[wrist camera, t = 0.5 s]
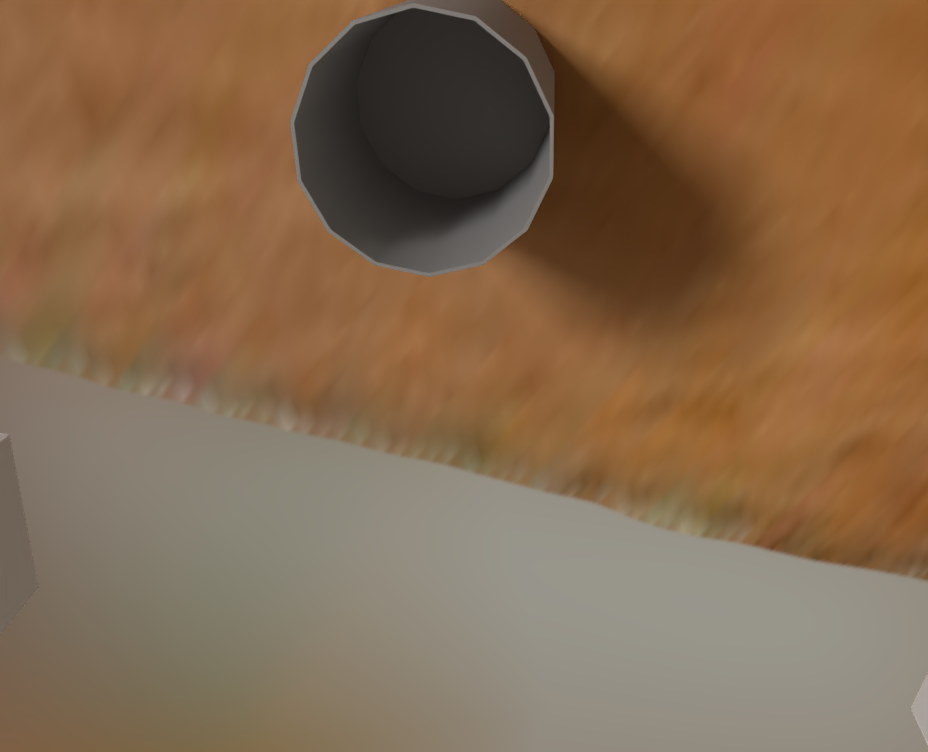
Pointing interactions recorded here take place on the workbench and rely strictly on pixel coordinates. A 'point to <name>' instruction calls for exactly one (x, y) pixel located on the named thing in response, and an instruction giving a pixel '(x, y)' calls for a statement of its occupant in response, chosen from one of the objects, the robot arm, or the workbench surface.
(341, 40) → the cup
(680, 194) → the workbench surface
